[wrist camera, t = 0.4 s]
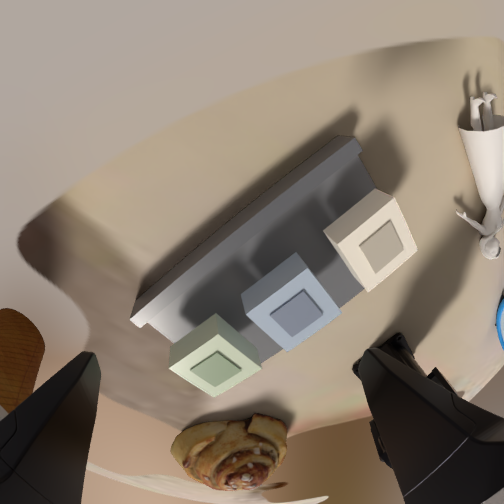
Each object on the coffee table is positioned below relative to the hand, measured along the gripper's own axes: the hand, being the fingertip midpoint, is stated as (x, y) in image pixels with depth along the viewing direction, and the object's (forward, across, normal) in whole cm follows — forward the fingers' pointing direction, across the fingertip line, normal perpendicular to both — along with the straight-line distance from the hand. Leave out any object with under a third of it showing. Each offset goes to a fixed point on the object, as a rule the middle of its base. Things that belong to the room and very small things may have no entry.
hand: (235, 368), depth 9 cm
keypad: (+13, -4, +3) cm, 14 cm away
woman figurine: (+13, -25, -7) cm, 29 cm away
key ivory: (+10, -9, -1) cm, 13 cm away
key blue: (+10, -5, +3) cm, 11 cm away
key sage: (+10, 0, +8) cm, 12 cm away
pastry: (+13, -2, +28) cm, 31 cm away
